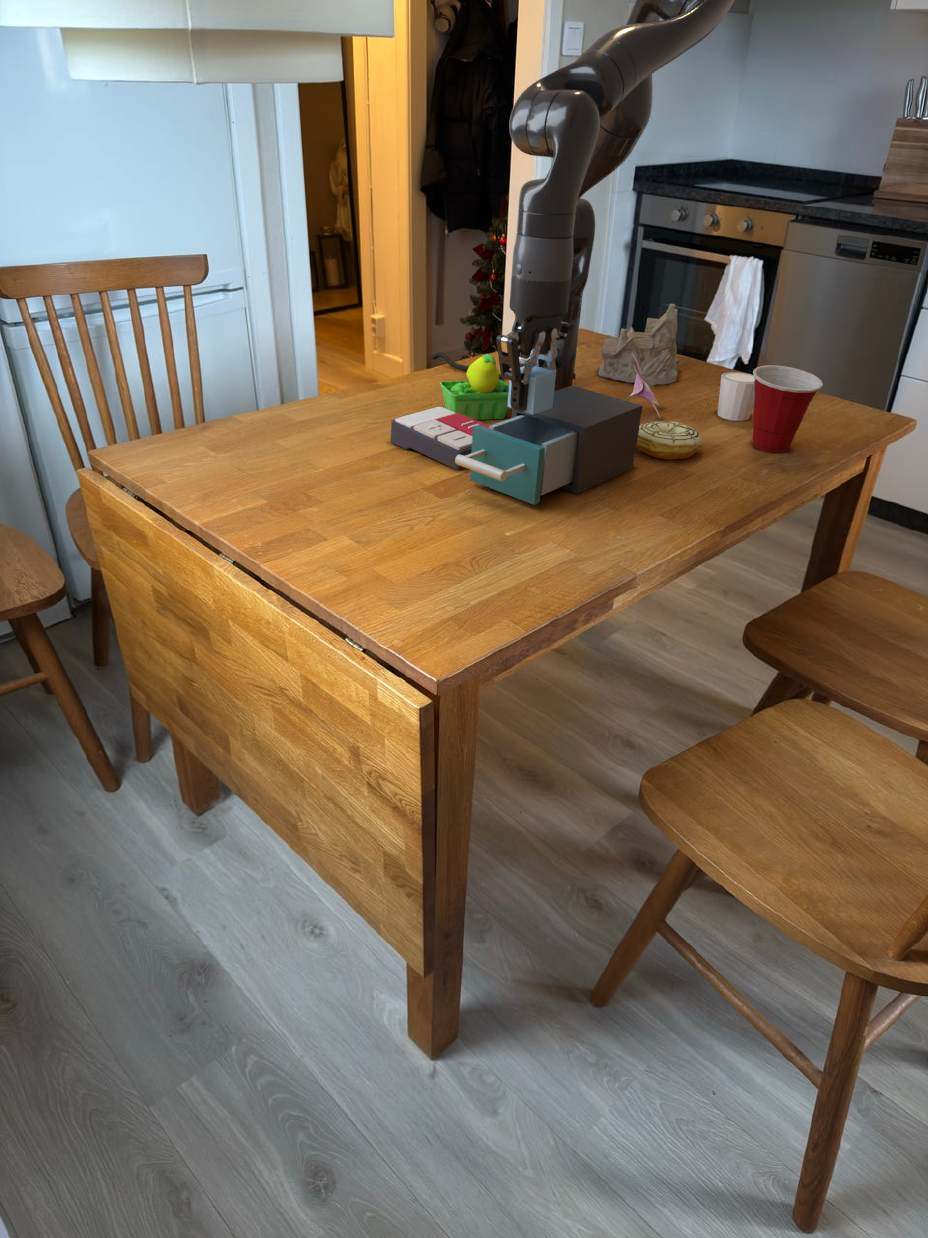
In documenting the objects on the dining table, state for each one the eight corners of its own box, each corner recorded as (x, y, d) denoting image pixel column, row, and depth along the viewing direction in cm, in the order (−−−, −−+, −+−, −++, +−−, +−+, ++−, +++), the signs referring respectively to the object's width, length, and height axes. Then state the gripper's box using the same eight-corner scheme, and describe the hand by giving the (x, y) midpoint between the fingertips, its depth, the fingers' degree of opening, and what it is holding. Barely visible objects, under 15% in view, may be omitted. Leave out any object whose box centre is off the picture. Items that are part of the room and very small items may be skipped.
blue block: (507, 406, 121) (509, 369, 118) (527, 400, 124) (530, 364, 121) (532, 414, 119) (536, 377, 116) (552, 408, 122) (556, 371, 119)
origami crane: (641, 434, 153) (676, 386, 149) (588, 394, 156) (621, 346, 152) (657, 435, 164) (690, 391, 160) (607, 398, 166) (638, 353, 163)
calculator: (459, 447, 130) (390, 415, 138) (457, 474, 133) (389, 441, 141) (509, 431, 137) (440, 401, 145) (506, 457, 140) (438, 426, 148)
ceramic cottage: (684, 367, 186) (692, 292, 178) (670, 391, 173) (678, 311, 165) (610, 361, 191) (615, 288, 183) (591, 384, 178) (595, 306, 170)
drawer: (508, 516, 117) (513, 459, 113) (443, 490, 124) (445, 435, 119) (591, 478, 130) (598, 426, 126) (528, 456, 136) (533, 406, 132)
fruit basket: (498, 406, 159) (503, 342, 153) (516, 423, 152) (522, 356, 146) (437, 410, 156) (439, 344, 150) (452, 427, 148) (455, 359, 143)
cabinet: (577, 494, 127) (585, 427, 122) (507, 468, 134) (512, 404, 129) (633, 467, 137) (642, 405, 132) (565, 445, 144) (572, 385, 139)
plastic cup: (766, 462, 142) (784, 387, 135) (724, 439, 150) (739, 367, 144) (819, 455, 145) (839, 382, 139) (775, 432, 154) (792, 363, 148)
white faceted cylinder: (757, 422, 158) (765, 383, 154) (718, 420, 158) (726, 381, 154) (747, 410, 164) (755, 372, 160) (710, 408, 164) (717, 370, 160)
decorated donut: (713, 453, 144) (717, 430, 142) (672, 467, 138) (676, 444, 136) (661, 434, 150) (665, 412, 148) (620, 447, 144) (623, 424, 142)
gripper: (530, 284, 106) (518, 424, 114) (598, 271, 115) (583, 401, 124) (482, 274, 110) (474, 410, 119) (551, 262, 119) (540, 389, 128)
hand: (530, 405), depth 121 cm, fingers closed on blue block, 4 cm apart
